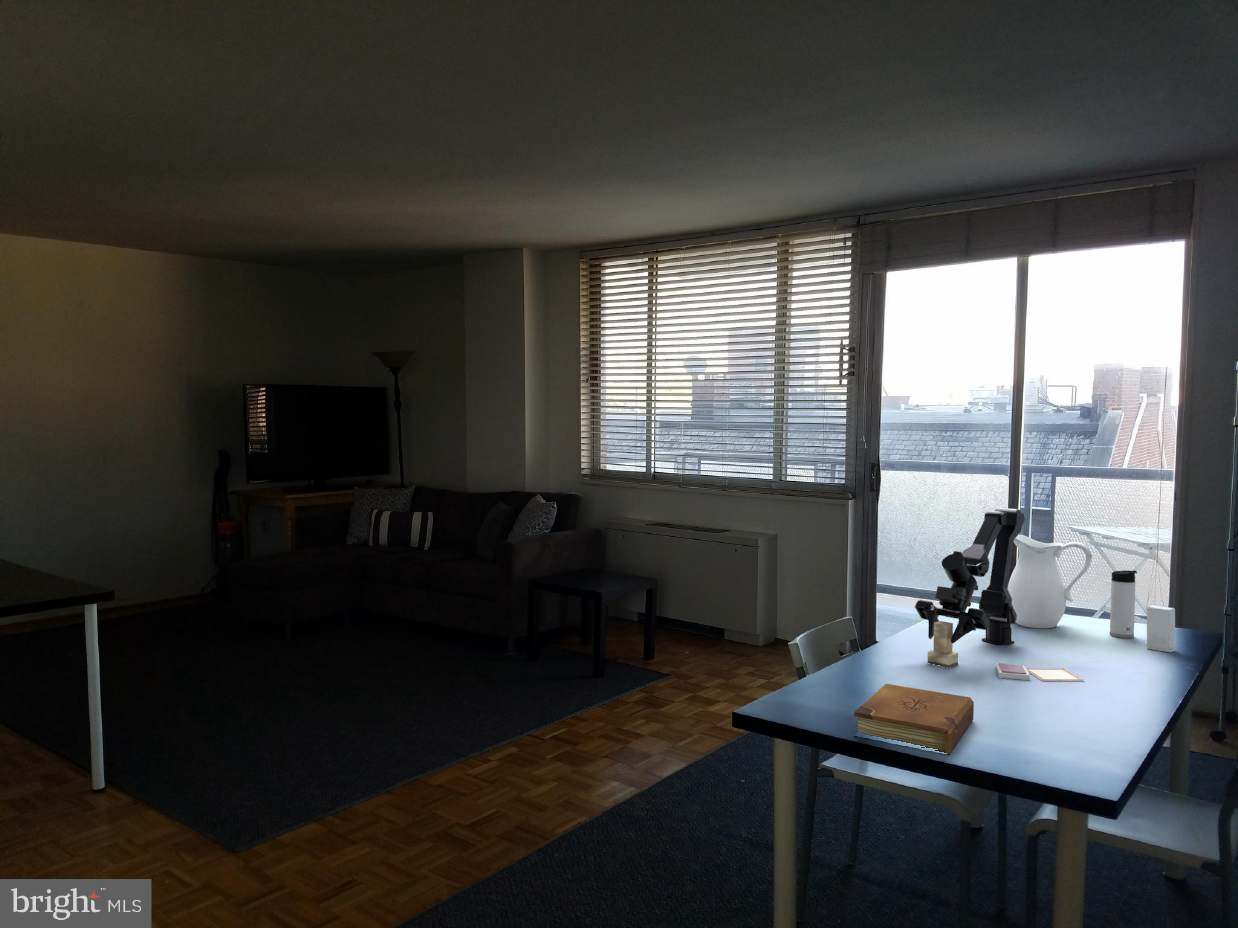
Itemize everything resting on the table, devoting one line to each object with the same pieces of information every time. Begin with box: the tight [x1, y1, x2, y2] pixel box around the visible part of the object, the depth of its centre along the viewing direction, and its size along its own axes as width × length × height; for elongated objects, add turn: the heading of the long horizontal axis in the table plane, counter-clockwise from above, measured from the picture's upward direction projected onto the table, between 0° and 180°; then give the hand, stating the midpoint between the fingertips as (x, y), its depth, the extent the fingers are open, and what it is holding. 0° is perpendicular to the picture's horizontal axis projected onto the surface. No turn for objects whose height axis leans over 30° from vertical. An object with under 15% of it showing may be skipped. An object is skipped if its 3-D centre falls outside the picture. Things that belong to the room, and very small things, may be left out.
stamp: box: [927, 620, 959, 669], centre depth 231 cm, size 6×5×11 cm
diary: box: [853, 683, 975, 755], centre depth 182 cm, size 23×19×6 cm
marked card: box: [1026, 667, 1086, 682], centre depth 221 cm, size 10×10×1 cm
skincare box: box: [1146, 605, 1176, 653], centre depth 245 cm, size 6×4×12 cm
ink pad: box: [994, 663, 1031, 681], centre depth 222 cm, size 9×7×2 cm
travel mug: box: [1109, 569, 1138, 639], centre depth 261 cm, size 6×7×20 cm
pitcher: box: [1007, 534, 1093, 629], centre depth 273 cm, size 24×17×28 cm
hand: (940, 640), depth 230 cm, fingers open, 6 cm apart
